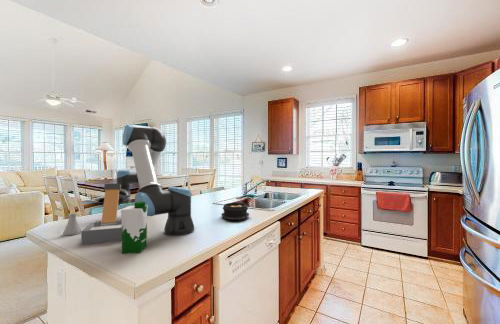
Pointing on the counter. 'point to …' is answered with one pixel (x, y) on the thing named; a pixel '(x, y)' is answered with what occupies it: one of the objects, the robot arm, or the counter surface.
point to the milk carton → (134, 228)
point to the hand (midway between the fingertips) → (112, 202)
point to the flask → (72, 225)
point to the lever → (110, 203)
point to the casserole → (235, 211)
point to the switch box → (102, 232)
